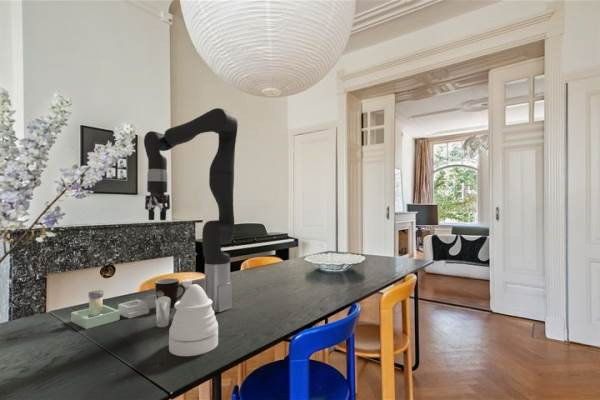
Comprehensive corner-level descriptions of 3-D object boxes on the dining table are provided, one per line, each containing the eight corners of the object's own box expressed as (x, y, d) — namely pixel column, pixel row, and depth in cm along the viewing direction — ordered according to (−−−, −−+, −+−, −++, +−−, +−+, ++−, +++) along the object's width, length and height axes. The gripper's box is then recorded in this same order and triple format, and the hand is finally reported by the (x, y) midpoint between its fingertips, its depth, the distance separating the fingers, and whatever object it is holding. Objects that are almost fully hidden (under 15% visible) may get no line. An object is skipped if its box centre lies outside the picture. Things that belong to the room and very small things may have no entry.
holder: (149, 312, 113) (149, 303, 114) (129, 318, 108) (129, 308, 108) (136, 308, 119) (136, 299, 119) (116, 313, 113) (116, 303, 113)
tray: (119, 319, 106) (119, 310, 107) (86, 329, 98) (86, 319, 98) (103, 313, 113) (103, 304, 113) (71, 321, 105) (71, 312, 105)
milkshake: (152, 324, 102) (152, 293, 102) (170, 322, 104) (170, 291, 104) (152, 329, 98) (152, 297, 98) (170, 326, 100) (170, 295, 100)
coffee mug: (150, 307, 120) (151, 281, 120) (172, 302, 126) (173, 277, 127) (164, 314, 112) (164, 285, 112) (186, 308, 118) (187, 281, 119)
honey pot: (169, 360, 78) (169, 287, 78) (168, 340, 90) (169, 277, 90) (221, 350, 83) (221, 282, 84) (214, 333, 95) (214, 273, 95)
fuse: (105, 318, 106) (105, 291, 107) (91, 321, 103) (91, 294, 103) (99, 315, 109) (100, 289, 109) (86, 319, 105) (86, 292, 106)
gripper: (175, 180, 128) (175, 220, 128) (156, 182, 136) (156, 219, 136) (158, 179, 122) (158, 220, 122) (139, 181, 130) (138, 220, 130)
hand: (157, 220), depth 129 cm, fingers open, 8 cm apart
